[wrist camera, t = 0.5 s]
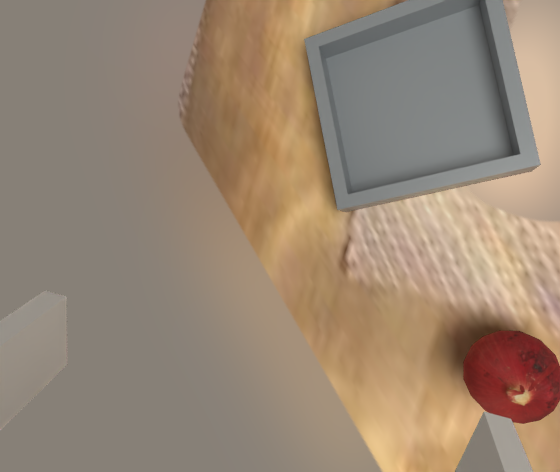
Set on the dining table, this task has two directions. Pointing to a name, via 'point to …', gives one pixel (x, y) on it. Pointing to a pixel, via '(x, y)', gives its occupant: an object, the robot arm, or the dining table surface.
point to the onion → (513, 376)
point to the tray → (420, 101)
